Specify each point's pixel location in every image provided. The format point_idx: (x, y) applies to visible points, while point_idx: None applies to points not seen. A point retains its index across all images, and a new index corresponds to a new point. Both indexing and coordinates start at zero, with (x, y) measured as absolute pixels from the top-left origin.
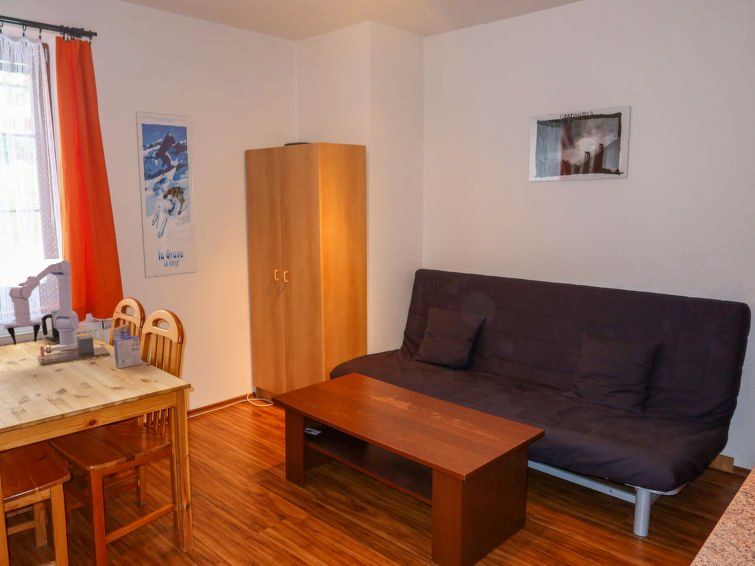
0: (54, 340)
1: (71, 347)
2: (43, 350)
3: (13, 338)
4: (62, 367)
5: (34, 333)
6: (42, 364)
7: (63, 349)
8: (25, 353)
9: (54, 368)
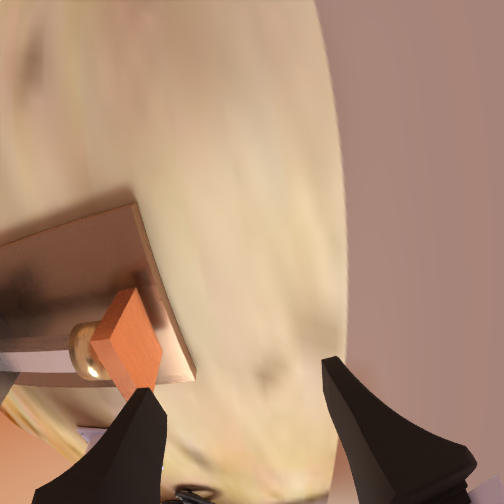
0: (190, 496)
1: (3, 344)
2: (104, 318)
3: (368, 401)
4: (20, 115)
5: (113, 459)
6: (125, 206)
7: (30, 338)
8: (271, 443)
9: (52, 102)
